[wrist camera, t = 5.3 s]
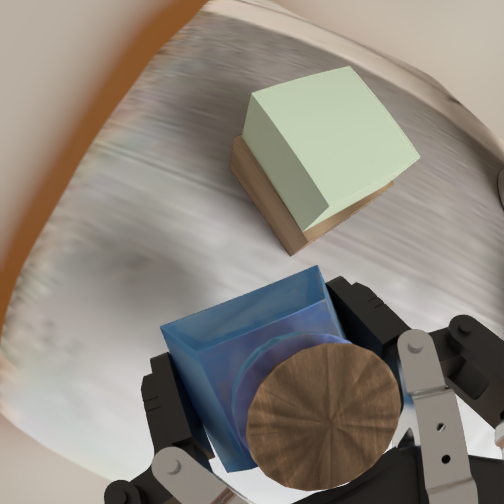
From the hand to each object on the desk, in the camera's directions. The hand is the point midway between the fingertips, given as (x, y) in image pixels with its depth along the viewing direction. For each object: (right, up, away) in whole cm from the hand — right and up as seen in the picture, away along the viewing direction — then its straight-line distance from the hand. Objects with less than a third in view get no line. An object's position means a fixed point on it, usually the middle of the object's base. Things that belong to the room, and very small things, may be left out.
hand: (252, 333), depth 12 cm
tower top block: (+5, +10, +10) cm, 15 cm away
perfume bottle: (0, -3, +5) cm, 6 cm away
